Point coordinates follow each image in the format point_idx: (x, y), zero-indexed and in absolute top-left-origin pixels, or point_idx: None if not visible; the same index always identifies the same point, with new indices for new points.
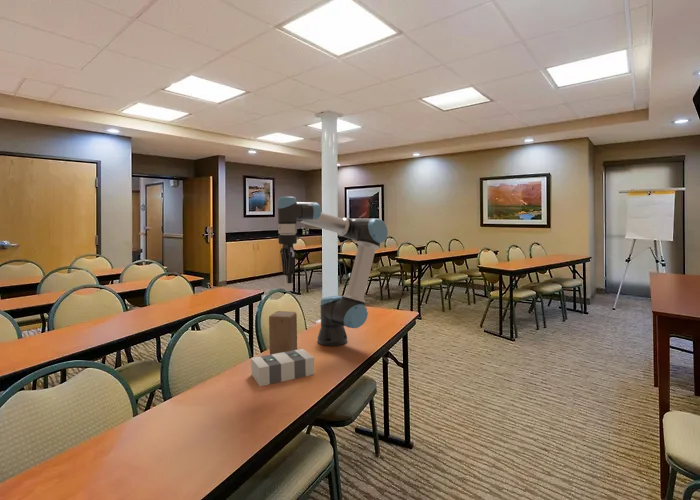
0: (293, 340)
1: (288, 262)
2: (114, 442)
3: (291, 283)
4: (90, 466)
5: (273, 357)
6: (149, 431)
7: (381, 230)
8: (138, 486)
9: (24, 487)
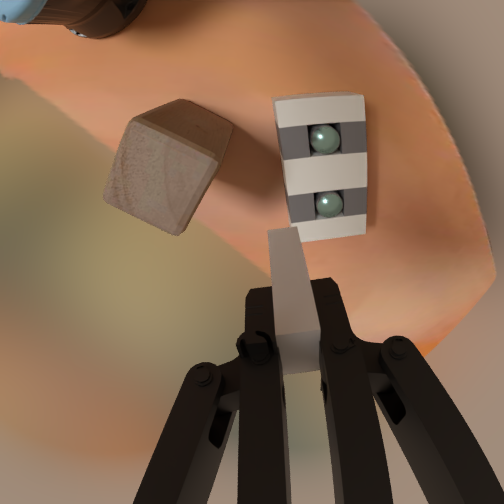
0: (202, 119)
1: (423, 485)
2: None
3: (305, 270)
4: None
5: (322, 197)
6: (393, 328)
7: None
8: (460, 316)
9: None
